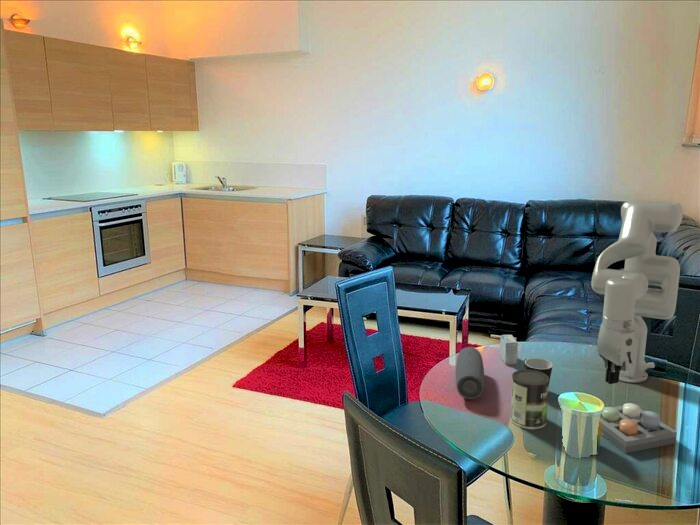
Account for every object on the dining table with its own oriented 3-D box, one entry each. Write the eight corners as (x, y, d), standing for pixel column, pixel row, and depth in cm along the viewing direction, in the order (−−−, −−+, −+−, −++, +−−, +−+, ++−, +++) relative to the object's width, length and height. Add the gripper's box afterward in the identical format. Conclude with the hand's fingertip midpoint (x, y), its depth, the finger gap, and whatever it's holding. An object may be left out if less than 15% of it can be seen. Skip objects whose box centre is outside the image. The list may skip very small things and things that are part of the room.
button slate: (650, 420, 151) (651, 409, 150) (663, 428, 147) (664, 417, 146) (637, 422, 150) (638, 412, 149) (649, 431, 146) (650, 420, 145)
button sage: (611, 415, 156) (612, 405, 156) (622, 423, 152) (623, 413, 151) (598, 418, 155) (599, 408, 154) (608, 426, 151) (609, 415, 150)
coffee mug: (552, 398, 171) (554, 370, 169) (524, 397, 173) (526, 368, 171) (547, 382, 182) (549, 354, 180) (520, 380, 184) (522, 353, 182)
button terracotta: (628, 428, 150) (630, 418, 149) (640, 436, 146) (642, 426, 145) (615, 430, 149) (616, 420, 148) (627, 439, 145) (628, 428, 144)
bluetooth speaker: (455, 370, 193) (456, 344, 191) (482, 372, 191) (483, 346, 189) (454, 401, 172) (455, 373, 169) (484, 404, 170) (485, 375, 167)
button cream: (631, 412, 158) (632, 402, 157) (643, 419, 154) (644, 409, 153) (618, 414, 157) (619, 404, 156) (629, 422, 153) (631, 411, 152)
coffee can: (550, 416, 161) (553, 373, 158) (542, 433, 153) (544, 388, 149) (515, 408, 167) (517, 366, 163) (505, 423, 158) (507, 380, 155)
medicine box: (517, 364, 196) (518, 342, 194) (504, 365, 196) (505, 342, 194) (511, 355, 204) (512, 334, 202) (499, 356, 204) (500, 334, 202)
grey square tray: (631, 414, 161) (632, 403, 160) (675, 443, 146) (676, 431, 145) (585, 422, 157) (586, 411, 157) (625, 453, 142) (626, 441, 142)
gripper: (649, 330, 142) (642, 392, 147) (610, 311, 156) (605, 368, 161) (625, 334, 141) (619, 397, 146) (587, 314, 155) (583, 372, 160)
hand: (611, 382), depth 154 cm, fingers closed
